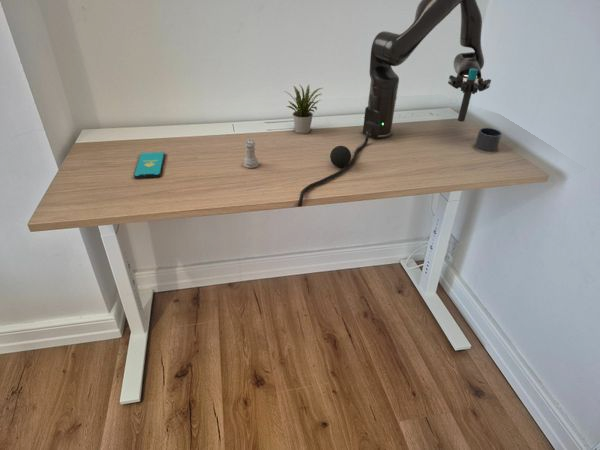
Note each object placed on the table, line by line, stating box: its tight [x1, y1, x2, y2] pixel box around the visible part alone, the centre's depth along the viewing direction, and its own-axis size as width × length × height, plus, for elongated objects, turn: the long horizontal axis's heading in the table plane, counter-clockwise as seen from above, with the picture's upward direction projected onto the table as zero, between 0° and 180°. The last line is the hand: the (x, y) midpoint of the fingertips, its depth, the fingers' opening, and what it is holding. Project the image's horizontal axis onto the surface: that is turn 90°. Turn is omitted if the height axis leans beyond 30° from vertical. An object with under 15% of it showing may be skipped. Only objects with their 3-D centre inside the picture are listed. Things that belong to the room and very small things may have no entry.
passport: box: [133, 151, 165, 179], centre depth 126 cm, size 7×1×15 cm
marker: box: [457, 68, 478, 123], centre depth 135 cm, size 2×2×16 cm
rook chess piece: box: [243, 138, 259, 169], centre depth 126 cm, size 4×4×8 cm
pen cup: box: [474, 127, 503, 153], centre depth 140 cm, size 7×7×6 cm
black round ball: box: [329, 145, 352, 168], centre depth 129 cm, size 6×6×10 cm
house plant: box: [283, 84, 323, 135], centre depth 146 cm, size 14×14×16 cm
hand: (469, 90), depth 131 cm, fingers closed on marker, 2 cm apart
